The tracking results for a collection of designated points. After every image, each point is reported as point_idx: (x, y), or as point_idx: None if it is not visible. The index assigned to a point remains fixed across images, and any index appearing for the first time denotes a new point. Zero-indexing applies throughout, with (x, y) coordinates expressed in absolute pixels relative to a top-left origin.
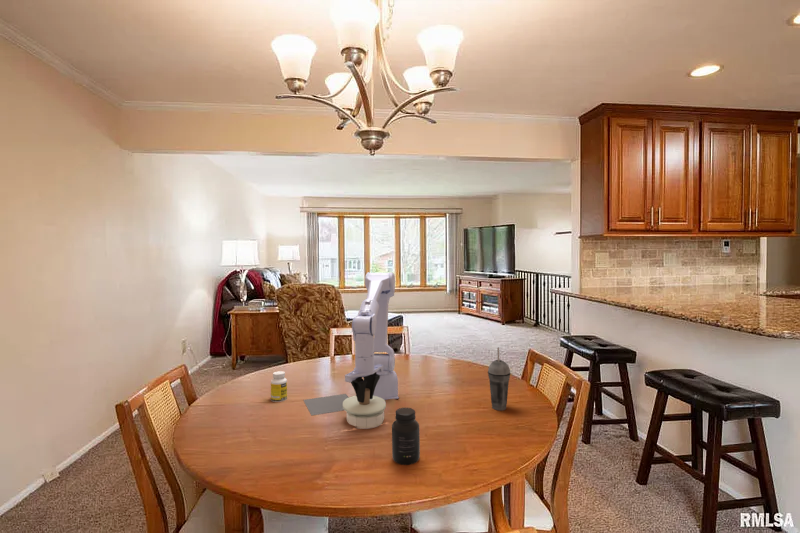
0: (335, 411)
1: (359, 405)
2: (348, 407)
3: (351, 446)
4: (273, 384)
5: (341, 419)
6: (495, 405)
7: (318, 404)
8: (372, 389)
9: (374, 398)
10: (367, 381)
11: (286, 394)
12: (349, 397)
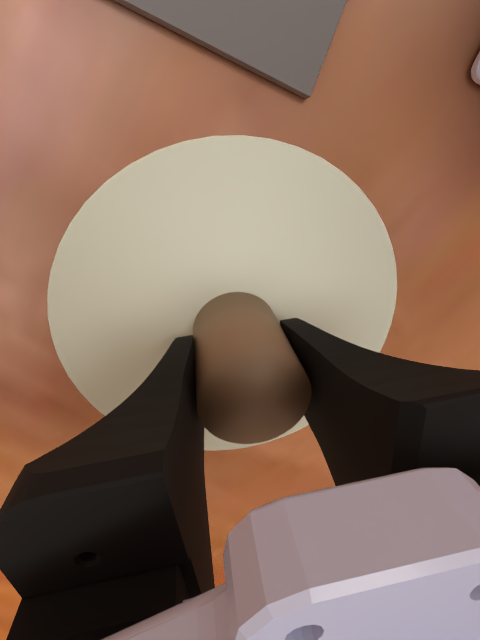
0: (132, 1)
1: None
2: (74, 334)
3: (17, 457)
4: None
5: (117, 163)
6: None
7: None
8: (315, 436)
9: (351, 306)
10: (348, 433)
11: None
12: (203, 144)
